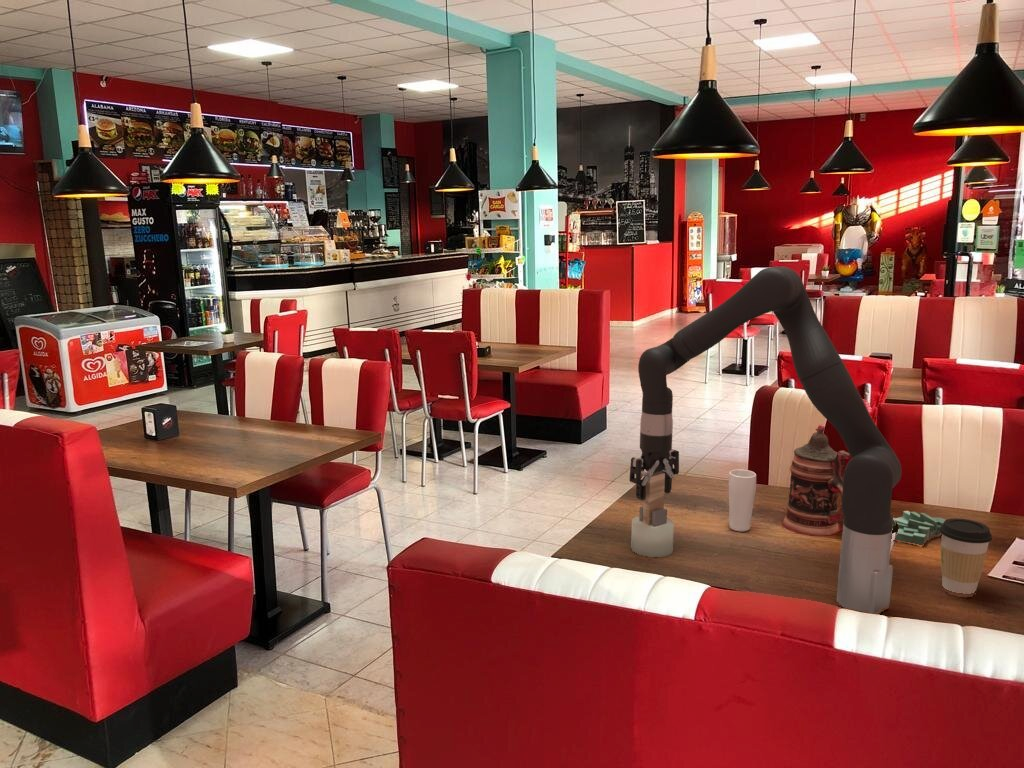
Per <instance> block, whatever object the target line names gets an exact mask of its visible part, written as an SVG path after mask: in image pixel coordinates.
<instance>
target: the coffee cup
mask: <svg viewBox="0 0 1024 768" xmlns="http://www.w3.org/2000/svg"><path fill="white" fill-rule="evenodd" d="M939 531H940V533H941V534H942V536H941V542H940V564H941V565H940V569H941V570H940V573H941V577H942V578H941V580H942V581H941V583H942V584H941V585H942V586H943V587H944V588H945V589H947V590H949V591H952V592H956V593H963V594H971V593H974V592H975V591H976V592H977V589H978V584H979V581H980V579H981V576H982V573H983V570H984V564H985V561H986V558H987V553H988V548H989V544H990V542H991V541H992V540H993V536H992V533H991V531H990V527H989V526H987V525H986V524H984V523H982V522H979V521H976V520H972V519H967V518H957V517H956V518H948V519H945V521H944V523H943V525H941V527H940V529H939Z"/></svg>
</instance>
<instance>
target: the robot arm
mask: <svg viewBox="0 0 1024 768" xmlns="http://www.w3.org/2000/svg"><path fill="white" fill-rule="evenodd" d="M770 312H772V313H773V314H774V316H775V317H776V320H777V321H778V322H779V324H780V326H781V327H782V329H783V331H784V333H785V335H786V338H787V340H788V345H789V349H790V354H791V360H792V363H793V366H794V367H793V368H794V370H795V373H796V376H797V378H798V380H799V382H800V384H801V386H802V388H803V389H804V390H803V391H804V392H805V393H806V395H807V397H808V399H809V400H810V402H811V404H812V405H813V406H814V407H815V409H816V410H817V411H818V412H819V413H820V414H821V415H822V416H823V418H825V419H826V421H828V422H829V424H831V425H832V427H834V428H835V430H836V431H837V432H838V435H840V437H841V439H842V441H843V443H844V444H845V448H846V449H847V451H848V453H849V454H850V456H849V457H850V459H849V461H848V462H847V464H846V465H845V467H844V470H843V474H844V477H843V491H842V501H841V505H842V512H843V516H844V518H843V519H842V520H843V523H842V528H843V529H842V530H841V531H842V532H841V533H842V534H841V545H840V554H839V555H840V557H839V567H838V578H837V579H838V580H837V589H836V602H839V604H841V605H842V607H845V608H849V609H854V610H858V611H863V612H869V613H876V612H879V610H882V609H883V608H885V607H886V606H888V605H889V606H890V600H891V590H892V582H893V571H894V566H893V565H892V564H890V557H891V556H890V555H891V547H892V541H891V539H892V530H893V518H894V517H893V515H892V513H891V512H892V511H891V508H892V496H893V488H895V487H896V485H898V483H899V482H900V480H901V478H902V464H901V462H900V460H899V458H898V456H897V454H896V453H895V451H894V449H893V448H892V447H891V446H890V444H889V442H888V441H887V440H886V438H885V437H884V436H883V434H882V433H881V431H880V430H879V428H878V427H877V425H876V424H875V423H876V422H875V421H874V420H873V418H872V417H871V414H870V412H869V410H868V408H867V406H866V404H865V402H864V399H863V398H862V396H861V394H860V392H859V390H858V388H857V386H856V385H855V382H854V381H853V378H852V375H851V374H850V372H849V370H848V368H847V367H846V364H845V362H843V359H842V358H841V356H840V354H839V353H838V351H837V350H836V347H835V346H834V344H833V341H832V340H831V338H830V337H829V335H828V333H827V331H826V330H825V329H824V327H823V325H822V324H821V322H820V320H819V317H818V316H817V314H816V312H815V310H814V307H813V305H812V302H811V299H810V297H809V294H808V292H807V290H806V287H805V285H804V282H803V280H802V278H801V276H800V275H799V273H797V272H796V271H795V270H793V268H790V267H787V266H770V267H765V268H763V269H761V270H759V271H758V272H757V273H756V274H755V275H754V276H753V277H752V278H750V279H749V280H748V281H747V282H746V283H745V284H744V285H743V286H742V287H741V288H740V289H738V290H737V291H736V292H735V293H734V294H733V295H731V296H730V297H729V298H728V299H726V300H725V301H723V302H722V303H721V304H719V305H718V306H716V307H715V308H713V309H712V310H709V312H707V313H705V314H703V315H701V316H700V317H699V318H697V319H695V320H694V321H692V322H691V323H689V324H687V325H686V326H684V327H683V328H681V329H679V330H678V331H677V332H676V333H675V334H674V335H673V337H672V338H670V339H668V340H667V341H666V342H663V343H661V344H660V345H657V346H654V347H650V348H647V349H645V350H644V351H643V352H642V354H641V355H640V357H639V360H638V367H637V369H638V376H639V377H638V378H639V382H640V383H639V384H640V389H641V391H642V392H641V393H642V400H641V415H640V423H639V424H640V429H639V449H640V451H641V456H640V457H639V458H637V457H631V458H630V468H629V479H628V480H629V482H630V483H632V484H635V496H636V499H637V500H640V501H643V500H645V498H646V485H645V484H646V482H647V480H648V479H649V478H651V476H652V474H654V473H656V472H663V473H665V487H664V494H670V493H671V490H672V488H673V487H672V486H673V485H672V484H673V482H672V481H673V478H674V476H675V475H679V473H680V451H678V450H675V448H674V449H673V429H674V427H673V426H674V420H673V419H674V418H673V401H674V398H673V397H674V395H673V390H672V389H671V388H669V386H668V383H667V375H670V374H672V373H674V372H676V371H677V370H678V369H680V368H681V367H683V366H684V365H686V364H687V363H688V362H689V361H690V360H692V359H694V358H696V357H698V356H700V355H701V354H703V353H705V352H706V351H708V350H710V349H711V348H713V347H714V346H716V345H717V344H718V343H720V342H722V340H724V339H725V338H726V337H727V336H729V335H730V334H731V333H732V332H734V331H735V330H736V329H738V328H739V327H741V326H742V325H744V324H746V323H748V322H749V321H751V320H753V319H756V318H758V317H761V316H763V315H765V314H768V313H770ZM839 604H838V605H839ZM842 607H841V608H842ZM866 610H867V611H866ZM878 615H879V613H878Z"/></svg>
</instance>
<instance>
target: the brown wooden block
mask: <svg viewBox="0 0 1024 768" xmlns="http://www.w3.org/2000/svg"><path fill="white" fill-rule="evenodd" d="M645 485H646V498H645V500H642V502H643V503H642V506H643V523H644V524H647V525H652V512H653V511H657V510H660V509H663V508H665V492H664V487H665V473H663V472H656V473H654V474H652V476H651V478H649V479H648V480H647V482H646V484H645Z"/></svg>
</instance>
